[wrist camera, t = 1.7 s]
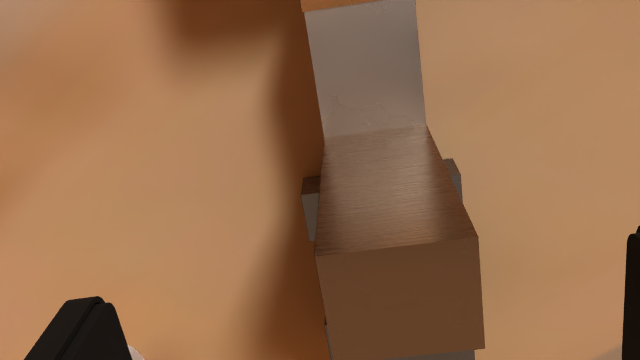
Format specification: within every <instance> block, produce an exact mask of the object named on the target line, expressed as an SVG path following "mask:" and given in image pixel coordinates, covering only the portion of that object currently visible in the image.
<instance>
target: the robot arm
mask: <svg viewBox="0 0 640 360" xmlns="http://www.w3.org/2000/svg"><path fill="white" fill-rule="evenodd" d="M24 360H132V357H131V354H130V351H129V348H128V345H127V342H126V339H125V336H124V333H123V331H122V328H121V325H120V322H119V319H118V316H117V313H116V310H115V308H114V306H113V305H112V304H111V303H105V301H104V300H103V299H102V298H101V297H99V296H96V297H88V298H81V299H73V300H68V301H66V302H65V303H64V304H63V306H62V307H61V308H60V310H59V311H58V313H57V314H56V315H55V317H54V318H53V320H52V321H51V322H50V324H49V325H48V327H47V328H46V329H45V331H44V332H43V334H42V335H41V336H40V338H39V339H38V341H37V342H36V343H35V345H34V346H33V348H32V349H31V350H30V352H29V353H28V355H27V356H26V357H25V359H24ZM622 360H640V226H639V227H638V229H637V231H636V233H635V234H630V235H629V237H628V240H627V254H626V276H625V298H624V320H623V341H622Z"/></svg>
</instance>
